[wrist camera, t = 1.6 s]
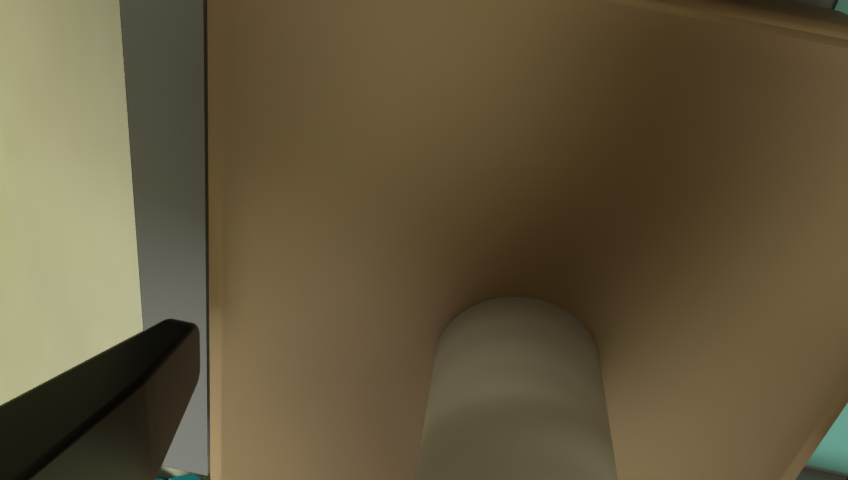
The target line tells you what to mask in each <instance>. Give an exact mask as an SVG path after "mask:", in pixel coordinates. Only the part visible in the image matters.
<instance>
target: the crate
mask: <svg viewBox="0 0 848 480" xmlns="http://www.w3.org/2000/svg"><path fill="white" fill-rule="evenodd" d="M207 27H208V186H209V345H210V480H795V479H796V478H797V477H798V475H799V474H800V472H801V471H802V469H803V468H804V466H805V465H806V463H807V462H808V460H809V459H810V457H811V456H812V454H813V453H814V452H815V450H816V449H817V447H818V446H819V444H820V443H821V441H822V440H823V438H824V437H825V435H826V434H827V432H828V431H829V430H830V428H831V427H832V425H833V424H834V422H835V421H836V419H837V418H838V416H839V415H840V413H841V412H842V410H843V409H844V407H845V406H846V405H847V403H848V15H847V14H845V13H843V12H840V11H837V10H832V9H827V8H821V7H816V6H811V5H806V4H801V3H796V2H790V1H785V0H207Z"/></svg>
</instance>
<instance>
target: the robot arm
mask: <svg viewBox="0 0 848 480" xmlns="http://www.w3.org/2000/svg"><path fill="white" fill-rule="evenodd" d="M199 375H200V331H199V328H198V326H197V325H196V324H194V323H191V322H187V321H182V320H177V319H165V320H163V321H161V322H159V323H157V324H155V325H153V326H151V327H149V328H148V329H146V330H144V331H142V332H140V333H138V334H136V335H134V336H132V337H130V338H128V339H127V340H125V341H123V342H121V343H119V344H117V345H115V346H113V347H111V348H109V349H107V350H106V351H104V352H102V353H100V354H98V355H96V356H94V357H92V358H90V359H88V360H86V361H85V362H83V363H81V364H79V365H77V366H75V367H73V368H71V369H69V370H67V371H65V372H64V373H62V374H60V375H58V376H56V377H54V378H52V379H50V380H48V381H46V382H44V383H43V384H41V385H39V386H37V387H35V388H33V389H31V390H29V391H27V392H25V393H23V394H22V395H20V396H18V397H16V398H14V399H12V400H10V401H8V402H6V403H4V404H2V405H1V406H0V480H155V479H156V477H157V475H158V473H159V471H160V468H161V466H162V464H163V462H164V459H165V457H166V455H167V452H168V450H169V448H170V446H171V443H172V441H173V439H174V436H175V434H176V432H177V429H178V427H179V425H180V423H181V420H182V418H183V416H184V413H185V411H186V409H187V407H188V404H189V402H190V400H191V397H192V395H193V393H194V390H195V388H196V386H197V383H198V380H199ZM846 480H848V477H847V479H846Z"/></svg>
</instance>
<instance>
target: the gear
mask: <svg viewBox="0 0 848 480" xmlns="http://www.w3.org/2000/svg"><path fill="white" fill-rule="evenodd" d="M155 480H164V479H162V478H156V479H155ZM168 480H201V479H200V478H198V477H197V476H196V475H195V474H193V473H192V474H187V475H183V476H178V477H173V478H169V479H168Z"/></svg>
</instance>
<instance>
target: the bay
mask: <svg viewBox="0 0 848 480" xmlns="http://www.w3.org/2000/svg"><path fill="white" fill-rule="evenodd" d="M785 1H790V2H796V3H801V4H806V5H811V6H816V7H821V8H827V9H832V10H837V11H840V12H843V13H845V14H847V15H848V0H785ZM119 2H120V16H121V29H122V43H123V57H124V71H125V85H126V99H127V112H128V126H129V140H130V154H131V168H132V181H133V195H134V209H135V223H136V237H137V251H138V264H139V278H140V292H141V306H142V320H143V331H144V330H146V329H148V328H149V327H151V326H153V325H155V324H157V323H159V322H161V321H163V320H165V319H177V320H182V321H187V322H191V323H194V324H196V325H197V326H198V328H199V331H200V375H199V380H198V383H197V386H196V388H195V390H194V393H193V395H192V397H191V400H190V402H189V404H188V407H187V409H186V411H185V413H184V416H183V418H182V420H181V423H180V425H179V427H178V429H177V432H176V434H175V436H174V439H173V441H172V443H171V446H170V448H169V450H168V452H167V455H166V457H165V459H164V462H163V464H162V466H164V467H169V468H173V469H178V470H183V471H187V472H192V473H197V474H201V475H206V476H208V474H209V472H210V345H209V186H208V27H207V0H119ZM847 477H848V403H847V405H846V406H845V407H844V409H843V410H842V412H841V413H840V415H839V416H838V418H837V419H836V421H835V422H834V424H833V425H832V427H831V428H830V430H829V431H828V432H827V434H826V435H825V437H824V438H823V440H822V441H821V443H820V444H819V446H818V447H817V449H816V450H815V452H814V453H813V454H812V456H811V457H810V459H809V460H808V462H807V463H806V465H805V466H804V468H803V469H802V471H801V472H800V474H799V475H798V477H797V478H796V479H795V480H846V479H847Z"/></svg>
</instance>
